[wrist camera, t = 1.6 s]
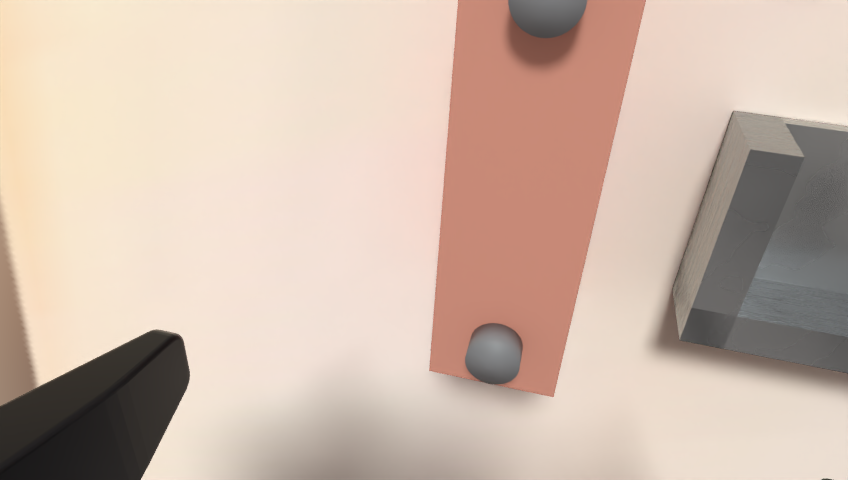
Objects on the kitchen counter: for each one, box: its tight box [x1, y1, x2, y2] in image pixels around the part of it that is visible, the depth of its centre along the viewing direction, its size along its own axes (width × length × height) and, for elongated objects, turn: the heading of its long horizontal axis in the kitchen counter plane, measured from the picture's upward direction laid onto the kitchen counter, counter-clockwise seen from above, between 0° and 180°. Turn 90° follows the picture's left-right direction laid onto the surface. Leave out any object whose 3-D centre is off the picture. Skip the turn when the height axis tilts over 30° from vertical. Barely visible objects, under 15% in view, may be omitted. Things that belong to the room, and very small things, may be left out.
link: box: [429, 0, 646, 397], centre depth 16 cm, size 12×4×6 cm, turn 177°
